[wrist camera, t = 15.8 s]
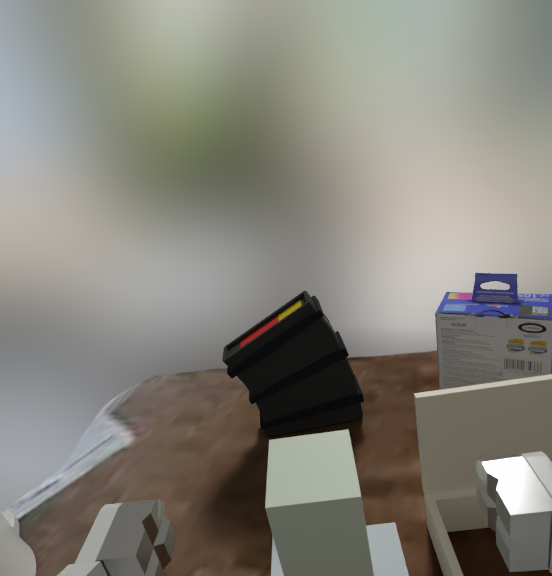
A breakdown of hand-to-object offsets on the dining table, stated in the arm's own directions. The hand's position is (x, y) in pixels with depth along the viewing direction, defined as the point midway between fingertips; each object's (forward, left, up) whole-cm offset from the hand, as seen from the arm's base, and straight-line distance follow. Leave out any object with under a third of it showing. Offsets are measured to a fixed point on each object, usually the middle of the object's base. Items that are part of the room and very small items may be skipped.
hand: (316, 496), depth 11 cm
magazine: (-3, +31, -23) cm, 38 cm away
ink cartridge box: (+17, +29, -23) cm, 40 cm away
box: (-1, +11, -22) cm, 25 cm away
